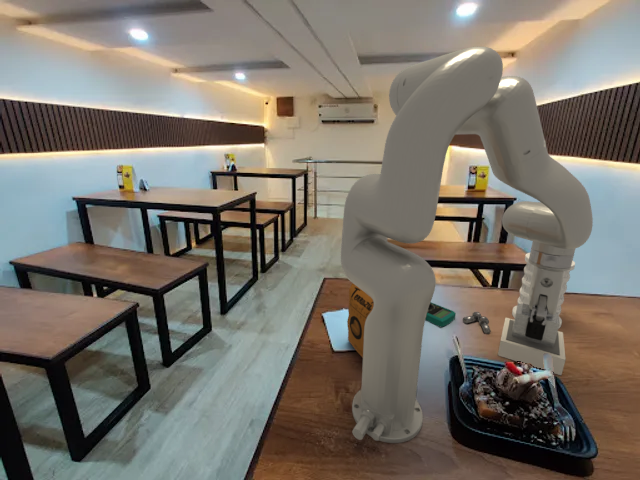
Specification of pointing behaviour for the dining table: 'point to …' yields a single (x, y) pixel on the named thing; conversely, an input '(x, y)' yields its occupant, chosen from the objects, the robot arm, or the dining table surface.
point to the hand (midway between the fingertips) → (533, 329)
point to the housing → (522, 320)
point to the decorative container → (527, 282)
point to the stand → (531, 349)
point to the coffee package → (358, 316)
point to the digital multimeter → (439, 315)
